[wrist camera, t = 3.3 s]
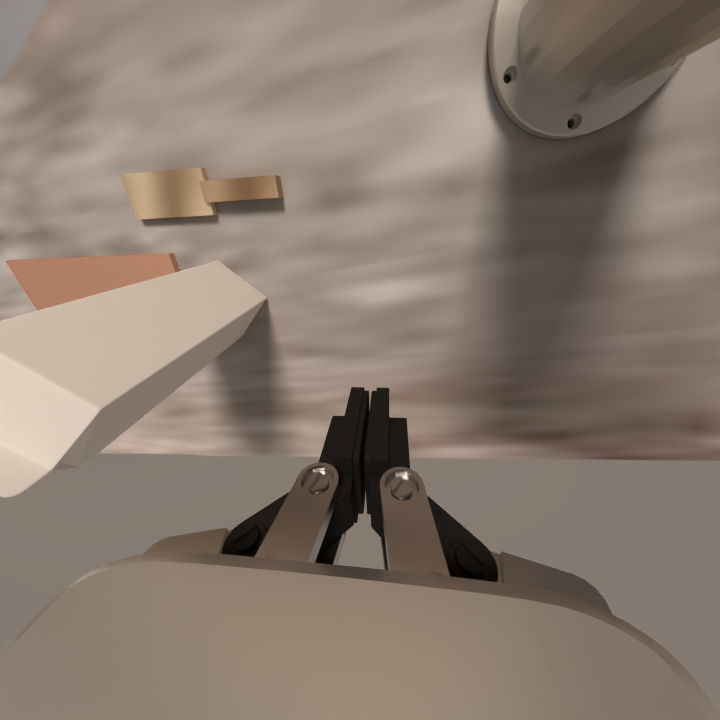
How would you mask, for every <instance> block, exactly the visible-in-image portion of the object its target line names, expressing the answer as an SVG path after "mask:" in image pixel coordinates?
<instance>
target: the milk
mask: <svg viewBox="0 0 720 720" xmlns="http://www.w3.org/2000/svg"><path fill="white" fill-rule="evenodd" d="M266 299H267V298H266V297H265V296H264V295H263V294H261V293H260V292H259V291H257V290H256V289H255V288H253V287H252V286H251V285H250V284H248V283H247V282H246V281H244V280H243V279H242V278H240V277H239V276H238V275H237V274H235V273H234V272H233V271H231V270H230V269H229V268H227V267H226V266H225V265H224V264H222V263H221V262H220V261H215V262H211V263H208V264H204V265H200V266H197V267H193V268H190V269H186V270H182V271H179V272H175V273H172V274H168V275H164V276H161V277H157V278H154V279H150V280H146V281H143V282H139V283H136V284H132V285H128V286H125V287H121V288H118V289H114V290H110V291H107V292H103V293H100V294H96V295H92V296H89V297H85V298H82V299H78V300H74V301H71V302H67V303H64V304H60V305H56V306H53V307H49V308H46V309H42V310H38V311H35V312H31V313H28V314H24V315H20V316H17V317H13V318H10V319H6V320H2V321H0V496H1V497H3V498H10V497H14V496H17V495H19V494H21V493H23V492H24V491H26V490H27V489H28V488H30V487H31V486H32V485H33V484H35V483H36V482H37V481H39V480H40V479H42V478H43V477H44V476H46V475H47V474H48V473H50V472H51V471H55V470H70V469H79V468H80V467H81V466H83V465H84V464H85V463H86V462H88V461H89V460H90V459H91V458H93V457H94V456H95V455H96V454H98V453H99V452H100V451H101V450H102V449H104V448H105V447H106V446H107V445H109V444H110V443H111V442H112V441H114V440H115V439H116V438H117V437H118V436H120V435H121V434H122V433H123V432H125V431H126V430H127V429H128V428H130V427H131V426H132V425H133V424H134V423H136V422H137V421H138V420H139V419H141V418H142V417H143V416H144V415H146V414H147V413H148V412H149V411H150V410H152V409H153V408H154V407H155V406H157V405H158V404H159V403H160V402H162V401H163V400H164V399H165V398H166V397H168V396H169V395H170V394H171V393H173V392H174V391H175V390H176V389H178V388H179V387H180V386H181V385H182V384H184V383H185V382H186V381H187V380H189V379H190V378H191V377H192V376H194V375H195V374H196V373H197V372H198V371H200V370H201V369H202V368H203V367H205V366H206V365H207V364H208V363H210V362H211V361H212V360H213V359H214V358H216V357H217V356H218V355H219V354H221V353H222V352H223V351H224V350H226V349H227V348H228V347H229V346H231V345H232V344H233V343H234V342H235V341H237V340H238V339H239V338H240V337H242V336H243V335H244V333H245V332H246V330H247V328H248V327H249V325H250V324H251V322H252V321H253V319H254V318H255V316H256V314H257V313H258V311H259V310H260V308H261V307H262V305H263V304H264V302H265V301H266Z"/></svg>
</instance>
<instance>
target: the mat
mask: <svg viewBox="0 0 720 720" xmlns="http://www.w3.org/2000/svg"><path fill="white" fill-rule="evenodd" d="M6 263H7V264H8V266H9V267H10V269H11V270H12V272H13V273H14V275H15V276H16V278H17V280H18V281H19V283H20V284H21V286H22V287H23V289H24V290H25V292H26V293H27V295H28V297H29V298H30V300H31V301H32V303H33V304H34V306H35V307H36V309H37V310H42V309H46V308H49V307H53V306H56V305H60V304H64V303H67V302H71V301H74V300H78V299H82V298H85V297H89V296H92V295H96V294H100V293H103V292H107V291H110V290H114V289H118V288H121V287H125V286H128V285H132V284H136V283H139V282H143V281H146V280H150V279H154V278H157V277H161V276H164V275H168V274H172V273H175V272H179V269H178V266H177V263H176V260H175V257H174V255H173V253H170V254H147V255H123V256H99V257H75V258H51V259H28V260H9V261H6Z"/></svg>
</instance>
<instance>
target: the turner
mask: <svg viewBox="0 0 720 720" xmlns="http://www.w3.org/2000/svg"><path fill="white" fill-rule="evenodd" d="M120 176H121V179H122V181H123V184H124V186H125V189H126V191H127V194H128V197H129V199H130V202H131V204H132V207H133V209H134V212H135V214H136V217H137V219H138V220H141V219H158V218H175V217H191V216H208V215H218V214H217V210H216V207H215V203H217V202H232V201H247V200H262V199H277V198H283V194H282V188H281V182H280V177H279V176H276V175H272V176H259V177H247V178H235V179H222V180H210V181H208V177H207V173H206V169H205V168H190V169H179V170H167V171H156V172H145V173H133V174H122V175H120Z"/></svg>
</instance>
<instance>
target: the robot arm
mask: <svg viewBox="0 0 720 720" xmlns="http://www.w3.org/2000/svg"><path fill="white" fill-rule="evenodd" d="M718 39H720V0H495V1H494V5H493V9H492V14H491V22H490V30H489V38H488V46H489V67H490V73H491V79H492V84H493V87H494V90H495V92H496V95H497V98H498V100H499V103H500V105H501V106H502V108H503V109H504V111H505V112H506V114H507V115H508V117H509V118H510V119H511V120H512V121H513V122H514V123H516V124H517V125H518V126H519V127H520V128H521V129H523V130H525V131H527V132H529V133H531V134H533V135H535V136H538V137H543V138H548V139H569V138H573V137H577V136H581V135H586V134H589V133H591V132H593V131H596V130H598V129H601V128H604V127H606V126H608V125H609V124H611V123H613V122H615V121H617V120H619V119H621V118H622V117H624V116H626V115H627V114H628V113H630V112H631V111H632V110H634V109H635V108H637V107H638V106H639V105H641V104H642V103H643V102H645V101H646V100H647V99H648V98H649V97H650V96H651V95H652V94H653V93H654V92H655V91H657V90H658V89H659V88H660V87H661V86H662V85H663V84H664V83H665V82H666V81H667V80H668V79H669V77H670V76H671V75H672V74H673V73H674V72H675V71H676V69H677V68H678V67H679V66H680V65H681V64H682V62H683V61H684V60H685V58H686V57H687V56H688V55H690V54H691V53H693V52H695V51H697V50H699V49H701V48H703V47H705V46H706V45H708V44H710V43H712V42H714V41H716V40H718ZM505 76H508V77H509V83H508V84H506V83H505V82H504V80H503V78H504V77H505ZM568 121H570V122H571V126H570V128H568V126H567V122H568ZM365 492H366V498H367V499H366V500H367V514H371V526H372V528H373V529H374V530H375V531H376V532H377V534H378V535H379V536H380V537H381V546H382V556H383V566H384V570H381V569H371V568H360V567H351V566H341V565H337V564H338V560H339V557H340V553H341V550H342V546H343V543H344V540H345V534H346V531H347V530H348V529H349V528H351V527H352V526H353V525H354V522H355V523H357V519H358V513H360V514H363V511H364V502H365V501H364V500H365ZM0 720H720V710H719V709H718V708H717V707H716V705H715V704H714V703H713V701H712V700H711V699H710V697H709V696H708V695H707V693H706V692H705V691H704V690H703V689H702V687H701V686H700V685H699V684H698V683H697V681H696V680H695V679H694V678H693V677H692V675H691V674H690V673H689V672H688V671H687V670H686V669H685V667H684V666H683V665H682V664H681V663H680V662H679V661H678V660H676V658H675V657H674V656H673V655H672V654H671V653H669V652H668V651H667V650H666V649H665V648H664V647H663V646H661V645H660V644H659V643H657V642H656V641H654V640H653V639H652V638H651V637H649V636H648V635H646V634H645V633H643V632H642V631H640V630H639V629H637V628H635V627H634V626H632V625H631V624H629V623H627V622H626V621H624V620H622V619H620V618H618V617H616V616H614V615H613V614H612V613H611V610H610V609H609V607H608V605H607V603H606V601H605V599H604V598H603V597H602V595H601V594H600V593H599V592H598V591H597V590H596V588H594V587H593V586H592V585H591V584H589V583H588V582H587V581H586V580H584V579H582V578H580V577H578V576H576V575H573V574H571V573H567V572H564V571H561V570H558V569H555V568H552V567H548V566H545V565H542V564H539V563H536V562H533V561H530V560H527V559H523V558H520V557H517V556H514V555H510V554H508V553H504V552H501V555H500V554H497V553H494V552H490V551H489V550H488V549H487V547H486V546H485V545H484V544H483V543H482V542H480V541H479V540H478V539H477V538H476V537H475V536H473V535H472V534H471V533H470V532H469V531H468V530H467V529H465V528H464V527H463V526H462V525H461V524H460V523H458V522H457V521H456V520H455V519H454V518H453V517H451V516H450V515H449V514H448V513H447V512H446V511H444V510H443V509H442V508H441V507H440V506H439V505H438V504H436V503H435V502H434V501H433V500H432V499H431V498H430V497H428V496H427V494H426V490H425V487H424V484H423V481H422V479H421V477H420V476H419V475H418V474H417V473H416V472H415V471H413V470H411V469H410V462H409V447H408V432H407V419H406V418H389V388H377V391H372V396H371V404H370V411H369V391H364V388H363V387H352V388H351V392H350V396H349V400H348V404H347V408H346V412H345V416H333V417H332V420H331V423H330V427H329V430H328V433H327V437H326V440H325V443H324V447H323V450H322V453H321V457H320V460H319V463H314V464H311V465H309V466H307V467H306V468H305V469H303V470H302V471H301V473H300V474H299V476H298V477H297V479H296V481H295V483H294V485H293V487H292V488H291V490H290V492H289V493H287V494H285V495H284V496H282V497H281V498H279V499H278V500H276V501H274V502H273V503H271V504H270V505H268V506H267V507H265V508H264V509H262V510H260V511H259V512H257V513H256V514H254V515H253V516H251V517H250V518H248V519H246V520H245V521H243V522H242V523H240V524H239V525H238V526H237V527H235V528H234V529H233V530H227V528H221V529H215V530H208V531H202V532H197V533H190V534H183V535H177V536H171V537H167V538H164V539H161V540H160V541H158V542H157V543H155V544H154V545H152V546H151V547H150V548H149V549H148V550H147V551H146V552H145V553H144V554H140V555H135V556H132V557H128V558H124V559H121V560H117V561H115V562H111V563H108V564H106V565H103V566H101V567H98V568H96V569H94V570H92V571H90V572H88V573H86V574H84V575H83V576H81V577H79V578H78V579H76V580H74V581H73V582H72V583H70V584H69V585H68V586H67V587H65V588H64V589H63V590H61V592H59V593H58V594H57V595H56V596H55V597H54V598H52V599H51V600H50V601H49V602H48V603H47V604H46V605H45V606H44V607H43V608H42V609H41V610H40V611H39V612H38V613H37V614H36V615H35V616H34V617H33V618H32V619H31V620H30V621H29V622H28V623H27V624H26V625H25V626H24V627H23V628H22V629H21V631H19V632H18V633H17V634H16V635H15V637H14V638H13V639H12V640H11V641H10V642H9V643H8V644H7V645H6V646H5V647H4V648H3V649H2V650H1V652H0Z"/></svg>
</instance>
